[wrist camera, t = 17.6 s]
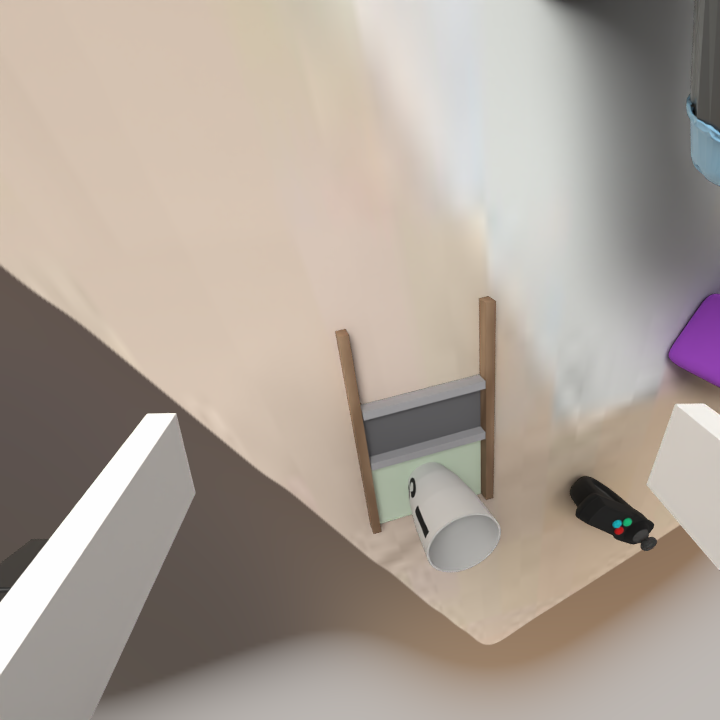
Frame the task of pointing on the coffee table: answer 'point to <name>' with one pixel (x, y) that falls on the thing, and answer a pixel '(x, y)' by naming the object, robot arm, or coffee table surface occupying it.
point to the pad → (395, 477)
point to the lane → (486, 407)
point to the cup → (450, 519)
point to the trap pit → (423, 422)
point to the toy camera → (701, 342)
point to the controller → (611, 513)
